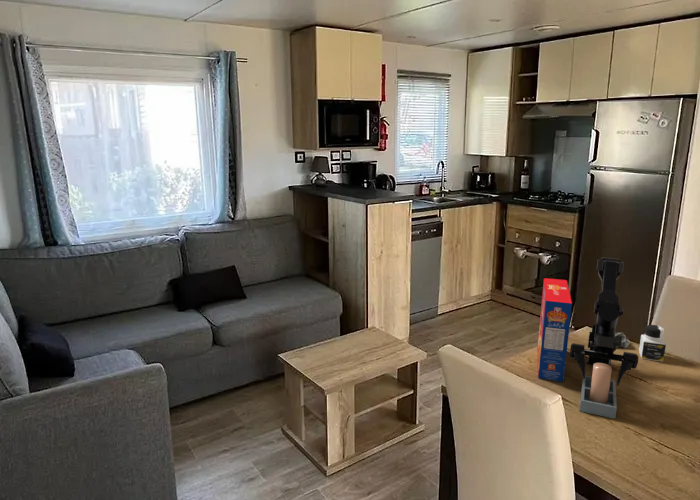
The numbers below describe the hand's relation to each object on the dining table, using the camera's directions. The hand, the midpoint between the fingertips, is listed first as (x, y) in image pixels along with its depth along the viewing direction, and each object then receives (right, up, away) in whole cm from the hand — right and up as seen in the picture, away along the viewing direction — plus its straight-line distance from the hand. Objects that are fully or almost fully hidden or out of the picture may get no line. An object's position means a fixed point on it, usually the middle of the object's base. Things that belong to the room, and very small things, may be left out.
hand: (600, 381), depth 154 cm
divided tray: (+2, -7, +5) cm, 9 cm away
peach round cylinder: (0, -8, +1) cm, 8 cm away
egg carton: (+29, +2, +48) cm, 56 cm away
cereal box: (-3, -1, +31) cm, 31 cm away
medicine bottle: (+37, 0, +37) cm, 52 cm away
